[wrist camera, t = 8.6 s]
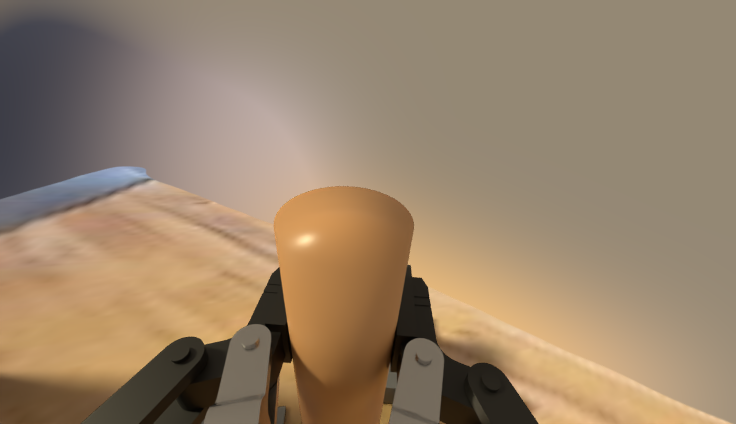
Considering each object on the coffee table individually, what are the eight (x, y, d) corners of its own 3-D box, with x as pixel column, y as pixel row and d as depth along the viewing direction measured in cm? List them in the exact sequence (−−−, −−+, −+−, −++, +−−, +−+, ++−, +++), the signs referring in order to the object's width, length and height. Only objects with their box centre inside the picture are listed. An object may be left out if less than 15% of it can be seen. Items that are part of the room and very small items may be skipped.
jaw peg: (293, 462, 13) (249, 257, 6) (312, 375, 16) (295, 182, 10) (378, 469, 13) (420, 271, 6) (380, 381, 16) (409, 190, 10)
